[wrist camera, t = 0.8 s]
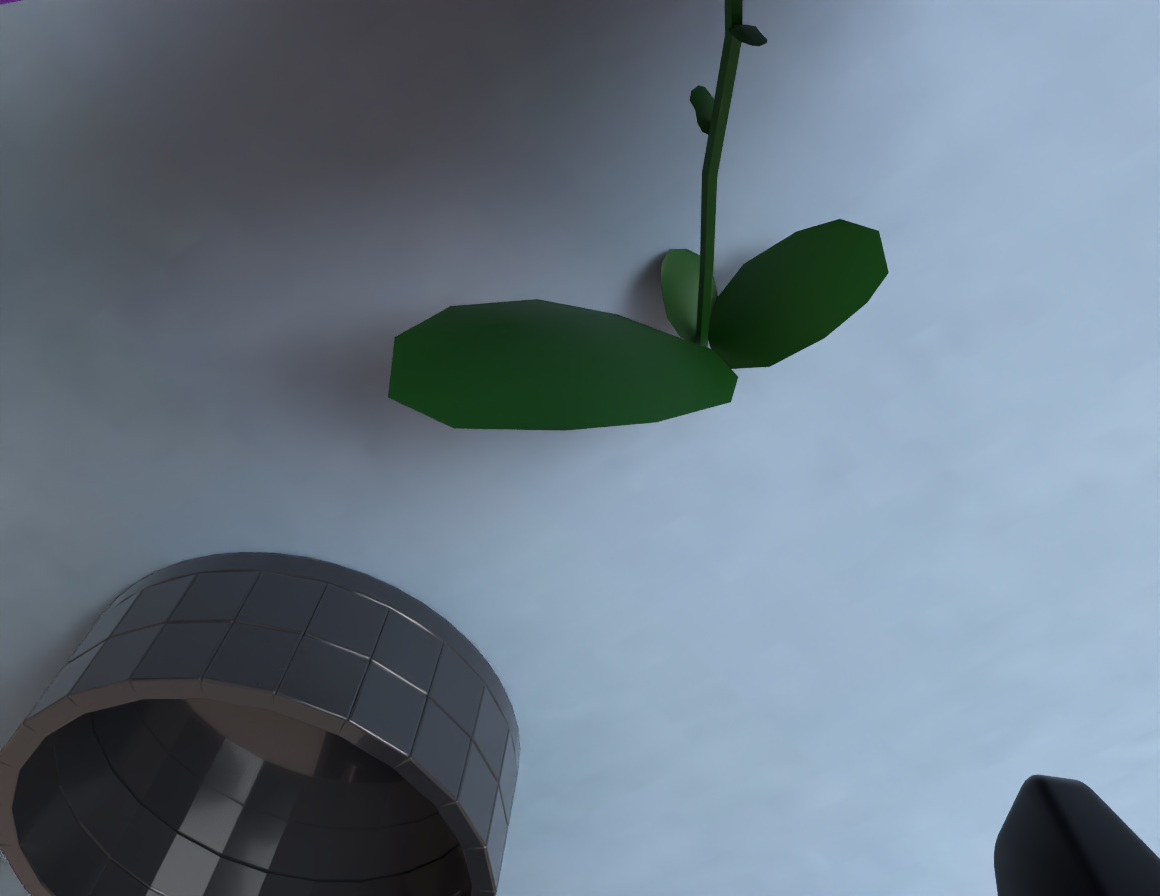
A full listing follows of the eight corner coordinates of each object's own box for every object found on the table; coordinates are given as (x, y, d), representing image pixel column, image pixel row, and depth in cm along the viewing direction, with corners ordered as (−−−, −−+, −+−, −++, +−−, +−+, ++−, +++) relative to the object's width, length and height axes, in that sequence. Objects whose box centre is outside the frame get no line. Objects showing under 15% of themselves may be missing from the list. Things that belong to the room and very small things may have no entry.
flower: (1027, 105, 23) (1401, -851, 12) (1179, 787, 16) (2712, -21, 4) (392, 104, 24) (160, -756, 13) (244, 735, 17) (-654, 10, 5)
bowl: (545, 871, 31) (525, 1020, 27) (164, 868, 32) (94, 1008, 29) (483, 542, 25) (446, 674, 21) (15, 558, 26) (-100, 684, 22)
